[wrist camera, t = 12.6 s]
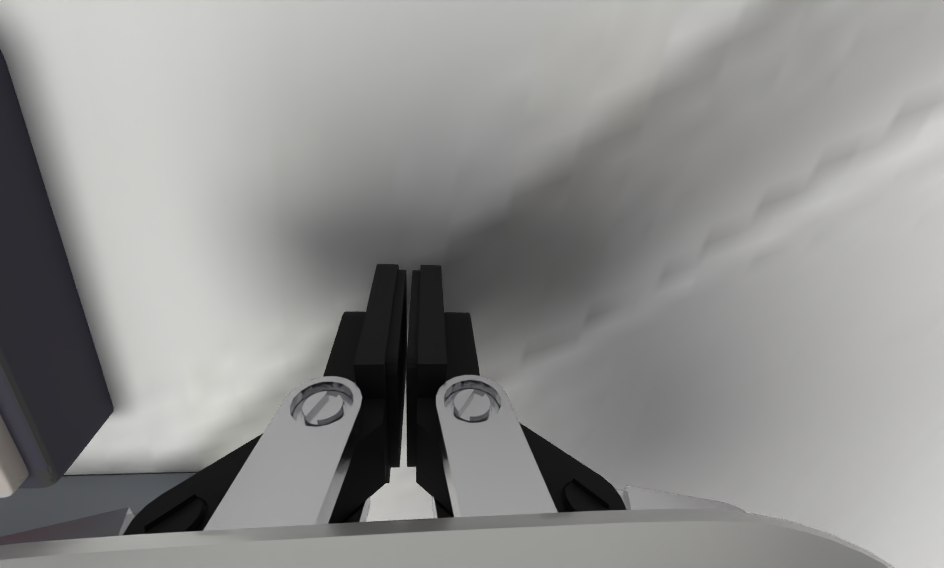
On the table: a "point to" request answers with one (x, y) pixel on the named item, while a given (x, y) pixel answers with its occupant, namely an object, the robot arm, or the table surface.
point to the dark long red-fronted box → (39, 325)
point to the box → (81, 499)
